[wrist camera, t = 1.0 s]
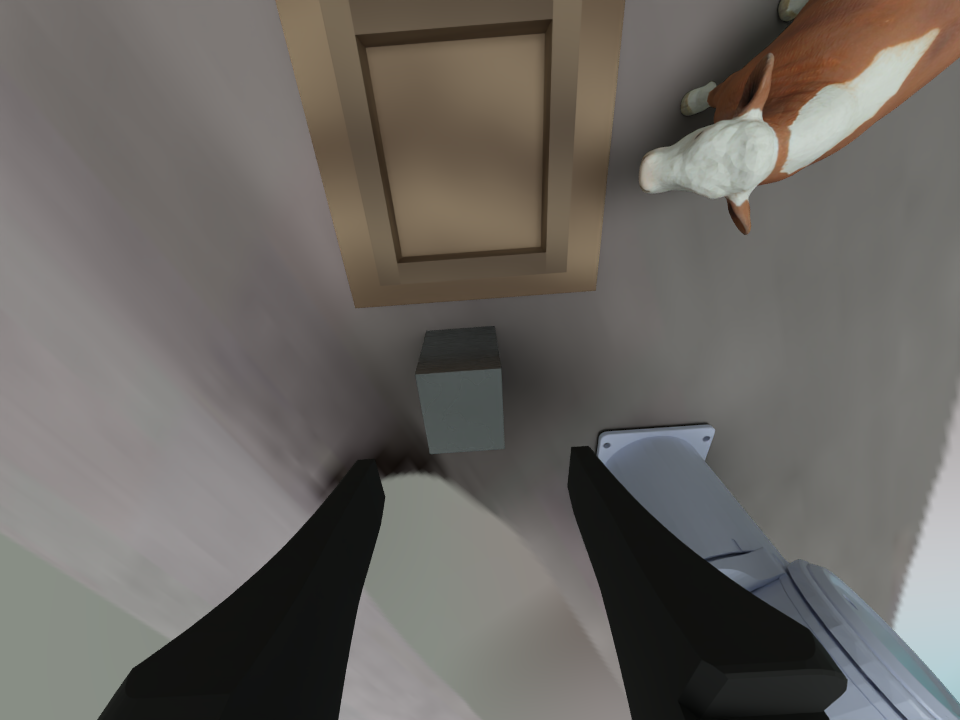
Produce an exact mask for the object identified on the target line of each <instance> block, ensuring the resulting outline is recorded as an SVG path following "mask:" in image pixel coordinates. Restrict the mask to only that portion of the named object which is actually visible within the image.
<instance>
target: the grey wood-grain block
mask: <svg viewBox="0 0 960 720" xmlns="http://www.w3.org/2000/svg"><path fill="white" fill-rule="evenodd" d="M415 377H416V382H417V388H418V393H419V398H420V404H421V409H422V414H423V419H424V425H425V430H426V435H427V441H428V446H429V451H430V454H439V453H453V452H467V451H482V450H496V449H505V445H504V422H503V398H502V375H501V364H500V358H499V352H498V346H497V339H496V333H495V327H494V326H487V327H474V328H460V329H446V330H432V331H427V332H426V336H425V339H424V343H423V347H422V351H421V354H420V358H419V362H418V365H417V369H416V373H415Z"/></svg>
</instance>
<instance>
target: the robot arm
mask: <svg viewBox="0 0 960 720" xmlns="http://www.w3.org/2000/svg"><path fill="white" fill-rule="evenodd" d="M714 433H715V429H714V428H713V427H712V426H711V425H693V426H678V427H664V428H650V429H635V430H621V431H607V432H603V433H601V434H600V436H599V440H598V448H597V455H596V454H595V453H594V452H593V450H592V449H591V448H590V447H589V446H581V447H571V456H570V466H569V476H568V491H569V495H570V499H571V504H572V508H573V512H574V515H575V518H576V521H577V524H578V527H579V530H580V533H581V535H582V538H583V541H584V544H585V547H586V549H587V552H588V555H589V558H590V561H591V563H592V566H593V569H594V572H595V575H596V577H597V581H598V584H599V587H600V590H601V594H602V597H603V601H604V605H605V609H606V613H607V616H608V620H609V624H610V628H611V632H612V636H613V640H614V644H615V648H616V652H617V656H618V660H619V665H620V669H621V673H622V678H623V682H624V686H625V690H626V695H627V699H628V703H629V708H630V713H631V717H632V720H960V704H959V702H958V701H957V700H956V699H955V697H954V696H953V695H952V694H951V693H950V692H949V690H948V689H947V688H946V687H945V686H944V685H943V683H942V682H941V681H940V680H939V679H938V678H937V677H936V675H935V674H934V673H933V672H932V671H931V670H930V669H929V668H928V667H927V665H926V664H925V663H924V662H923V661H922V660H921V659H920V658H919V657H918V656H917V655H916V653H914V651H913V650H912V649H911V648H910V647H909V646H908V645H907V644H906V643H905V642H904V641H903V640H902V639H901V638H900V637H899V635H897V633H896V632H895V631H894V630H893V629H892V628H891V627H890V626H889V625H888V624H887V623H886V622H885V621H884V620H883V619H882V618H881V617H880V616H879V615H878V614H877V613H876V612H875V611H874V610H873V609H872V608H871V607H870V606H869V605H868V604H867V603H866V602H865V601H864V600H863V599H862V598H861V597H859V596H858V595H857V594H856V593H855V592H854V591H853V590H852V589H851V588H850V587H849V586H848V585H846V584H845V583H844V582H843V581H842V580H841V579H839V578H838V577H837V576H836V575H835V574H833V573H832V572H831V571H829V570H828V569H826V568H824V567H821V566H818V565H814V564H810V563H809V562H807V561H805V560H802V559H798V560H795V561H793V562H792V563H789V562H787V561H786V560H785V559H784V557H783V556H782V555H781V554H780V553H779V551H778V550H777V549H776V548H775V546H774V545H773V544H772V543H771V542H770V540H769V539H768V538H767V537H766V535H765V534H764V533H763V532H762V531H761V529H760V528H759V527H758V526H757V524H756V523H755V522H754V521H753V519H752V518H751V517H750V516H749V515H748V513H747V512H746V511H745V510H744V508H743V507H742V506H741V505H740V504H739V502H738V501H737V500H736V499H735V497H734V496H733V495H732V494H731V493H730V491H729V490H728V489H727V488H726V486H725V485H724V484H723V483H722V481H721V480H720V479H719V478H718V477H717V475H716V474H715V473H714V472H713V470H712V469H711V468H710V467H709V466H708V464H707V463H706V462H705V459H706V456H707V453H708V450H709V448H710V445H711V442H712V439H713V436H714ZM605 443H607V444H605ZM604 444H605V445H604ZM384 502H385V495H384V491H383V487H382V484H381V480H380V477H379V473H378V470H377V466H376V462H375V459H365V460H357V461H356V463H355V464H354V465H353V466H352V468H351V469H350V470H349V471H348V473H347V474H346V475H345V476H344V478H343V479H342V480H341V482H340V483H339V484H338V485H337V487H336V488H335V489H334V490H333V492H332V493H331V494H330V495H329V496H328V498H327V499H326V500H325V501H324V502H323V504H322V505H321V506H320V507H319V508H318V510H317V511H316V512H315V513H314V514H313V515H312V517H311V518H310V519H309V520H308V521H307V522H306V523H305V524H304V525H303V526H302V528H301V529H300V530H299V531H298V532H297V533H296V534H295V535H294V536H293V537H292V538H291V539H290V540H289V542H288V543H287V544H286V545H285V546H284V547H283V548H282V549H281V550H280V551H279V552H278V553H277V554H276V555H275V556H274V557H273V558H271V559H270V560H269V561H268V562H267V563H266V564H265V565H264V566H263V567H262V568H261V569H260V570H259V571H258V572H256V573H255V574H254V575H253V576H252V577H251V578H250V579H249V580H247V581H246V582H245V583H244V584H243V585H242V586H241V587H239V588H238V589H237V590H236V591H235V592H234V593H233V594H231V595H230V596H229V597H228V598H227V599H225V600H224V601H223V602H222V603H220V604H219V605H218V606H217V607H215V608H214V609H213V610H212V611H211V612H209V613H208V614H207V615H205V616H204V617H203V618H202V619H200V620H199V621H198V622H196V623H195V624H194V625H192V626H191V627H190V628H188V629H187V630H186V631H185V632H183V633H182V634H181V635H179V636H178V637H176V638H175V639H174V640H172V641H171V642H169V643H168V644H167V645H165V646H164V647H162V648H161V649H160V650H158V651H157V652H155V653H154V654H153V655H151V656H150V657H149V658H147V659H146V660H144V661H143V662H141V663H140V664H138V665H137V666H135V667H134V668H133V669H132V670H131V671H130V673H129V674H128V676H127V677H126V679H125V680H124V681H123V683H122V684H121V686H120V687H119V689H118V690H117V691H116V693H115V694H114V696H113V697H112V699H111V700H110V702H109V703H108V705H107V706H106V708H105V709H104V711H103V712H102V713H101V715H100V716H99V718H98V719H97V720H338V717H339V711H340V705H341V699H342V692H343V686H344V680H345V674H346V668H347V662H348V657H349V651H350V646H351V640H352V635H353V630H354V625H355V619H356V614H357V609H358V605H359V601H360V597H361V593H362V589H363V585H364V582H365V578H366V575H367V572H368V568H369V564H370V561H371V557H372V554H373V551H374V547H375V544H376V540H377V537H378V533H379V530H380V526H381V520H382V515H383V509H384Z"/></svg>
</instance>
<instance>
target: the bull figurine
mask: <svg viewBox="0 0 960 720" xmlns="http://www.w3.org/2000/svg"><path fill="white" fill-rule="evenodd" d="M778 13H779V17H780V19H781V20H783V21H790V20H792V19H794V18H795V19H794V20H793V22H792V23H791V24H790V25H789V26H788V27H787V28H786V29H785V30H784V31H783V32H782V33H781V34H780V35H779V36H778V37H777V38H776V39H775V40H774V41H773V42H772V43H771V44H770V45H769V46H768V47H767V48H765V49H764V50H763V51H762V52H761V53H759V54H758V55H757V56H756V57H754V58H753V59H752V60H751V61H750V62H749V63H748V64H747V65H746V66H744V67H743V68H742V69H741V70H739V71H737V72H735V73H733V74H732V75H730V76H729V77H728V78H727V79H726V80H725V81H724V82H723V83H721V84H719V85H718V86H716V83H714V82H710V83H708V84H707V85H706V86H704V87H700V88H697V89H694V90H691V91H689V92H688V93H687V94H686V95H685V96H684V97H683V99H682V101H681V112H682V114H684V115H686V116H690V115H693V114H696V113H698V112H701V111H703V110H705V109H706V108H708V107H710V106H711V107H713V108H716V111H715V115H714V124H713V125H709V126H706V127H703V128H700V129H697V130H696V131H694V132H692V133H690V134H688V135H687V136H685V137H684V138H682V139H681V140H680V141H679V142H677V143H676V144H674V145H672V146H669V147H661V148H657V149H654V150H652V151H649V152H648V153H647V154H645V156H644V157H643V159H642V162H641V165H640V170H639V185H640V188H641V189H642V191H644V192H645V193H649V194H654V193H663V192H666V191H670V190H681V191H690V192H694V193H696V194H698V195H702V196H705V197H707V198H709V199H716V198H720V197H723V196H724V197H725V198H726V199H727V203H728V210H729V213H730V216H731V218H732V220H733V222H734V223H735V225H736V226H737V228H738V229H739V230H740V231H741V232H742V233H743V234H744V235H747V234H748V233H749V232H750V228H751V222H750V206H749V201H748V197H749V195H750V193H751V192H752V191H753V190H754V188H755V187H756V186H758V185H763V184H768V183H773V182H777V181H780V180H783V179H785V178H787V177H789V176H792V175H793V174H795V173H797V172H798V171H800V170H802V169H803V168H805V167H806V166H809V165H811V164H813V163H815V162H818V161H820V160H822V159H824V158H826V157H828V156H830V155H831V154H833V153H835V152H837V151H838V150H840V149H841V148H843V147H845V146H846V145H848V144H849V143H850V142H852V141H853V140H854V139H856V138H857V137H858V136H860V135H861V134H862V133H863V132H864V131H866V130H867V129H868V128H869V127H870V126H872V125H873V124H874V123H875V122H876V121H878V120H880V119H881V118H882V117H884V116H885V115H887V114H888V113H890V112H891V111H892V110H894V109H895V108H897V107H898V106H899V105H900V104H902V103H903V102H904V101H906V100H907V99H908V98H909V97H911V96H912V95H913V94H914V93H916V92H917V91H918V90H919V89H921V88H922V87H923V86H925V85H926V84H927V83H929V82H930V81H931V80H932V79H934V78H935V77H936V76H937V75H938V74H940V73H941V72H942V71H943V70H945V69H946V68H947V67H948V66H949V65H951V64H952V63H953V62H954V61H955V60H957V59H958V58H959V57H960V0H781V1H780V4H779V7H778Z"/></svg>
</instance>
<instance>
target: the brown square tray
mask: <svg viewBox="0 0 960 720" xmlns="http://www.w3.org/2000/svg"><path fill="white" fill-rule="evenodd" d="M275 1H276V5H277V9H278V12H279V16H280V20H281V24H282V28H283V32H284V35H285V39H286V43H287V47H288V51H289V55H290V59H291V62H292V66H293V70H294V74H295V78H296V82H297V85H298V89H299V93H300V97H301V101H302V105H303V109H304V112H305V116H306V120H307V124H308V128H309V132H310V136H311V139H312V143H313V147H314V151H315V155H316V159H317V162H318V166H319V170H320V174H321V178H322V182H323V186H324V189H325V193H326V197H327V201H328V205H329V209H330V212H331V216H332V220H333V224H334V228H335V232H336V236H337V239H338V243H339V247H340V251H341V255H342V259H343V263H344V266H345V270H346V274H347V278H348V282H349V286H350V289H351V293H352V297H353V301H354V305H355V308H365V307H379V306H393V305H406V304H420V303H433V302H447V301H461V300H474V299H488V298H502V297H515V296H529V295H543V294H556V293H570V292H584V291H596V282H597V272H598V263H599V253H600V243H601V233H602V223H603V214H604V204H605V194H606V184H607V174H608V165H609V155H610V145H611V135H612V125H613V116H614V106H615V96H616V86H617V76H618V66H619V57H620V47H621V37H622V27H623V17H624V8H625V0H275Z"/></svg>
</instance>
